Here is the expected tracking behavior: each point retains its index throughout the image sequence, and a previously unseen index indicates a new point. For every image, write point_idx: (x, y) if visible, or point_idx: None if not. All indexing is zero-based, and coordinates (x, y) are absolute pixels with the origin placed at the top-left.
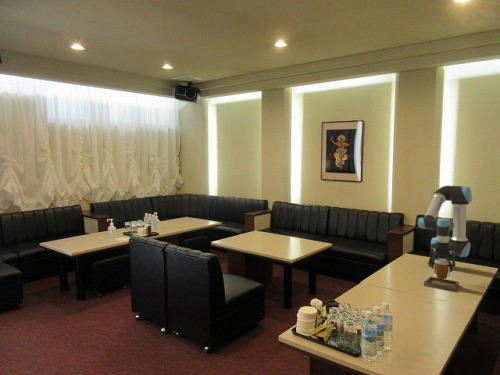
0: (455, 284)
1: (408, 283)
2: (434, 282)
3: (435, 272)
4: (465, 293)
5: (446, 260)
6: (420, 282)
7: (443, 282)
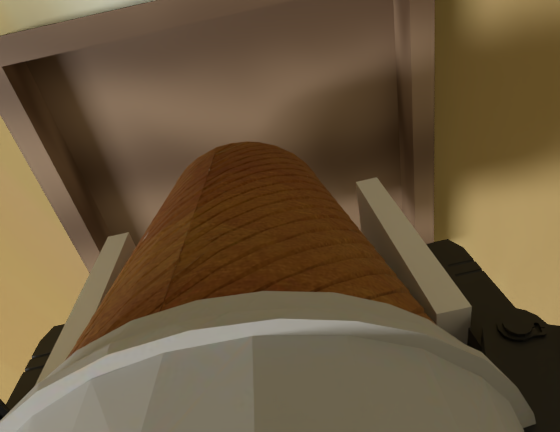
0: (419, 137)
1: (7, 358)
2: (141, 150)
3: (129, 253)
4: (516, 202)
5: None
6: (33, 246)
7: (213, 41)
